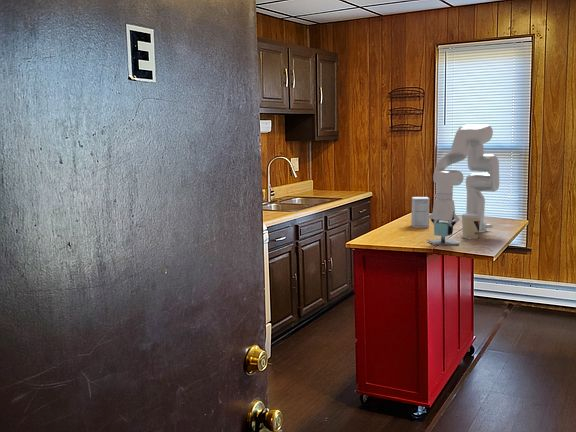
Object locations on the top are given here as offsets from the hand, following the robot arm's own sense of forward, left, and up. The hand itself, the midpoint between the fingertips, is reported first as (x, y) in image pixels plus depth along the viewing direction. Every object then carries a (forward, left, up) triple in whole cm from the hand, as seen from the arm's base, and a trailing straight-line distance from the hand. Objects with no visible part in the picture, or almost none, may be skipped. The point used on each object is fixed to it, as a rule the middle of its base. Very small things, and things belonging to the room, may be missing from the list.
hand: (443, 233), depth 295 cm
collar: (0, 0, -1) cm, 1 cm away
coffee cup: (-20, -16, -5) cm, 26 cm away
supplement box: (-5, -55, -5) cm, 55 cm away
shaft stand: (0, 0, -5) cm, 5 cm away
